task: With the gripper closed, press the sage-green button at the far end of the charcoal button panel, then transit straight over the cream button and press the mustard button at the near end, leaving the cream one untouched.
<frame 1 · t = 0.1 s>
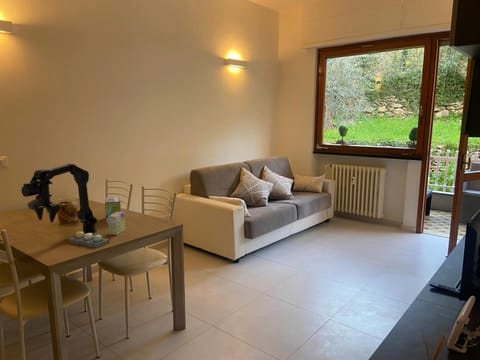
hand: (46, 221, 195), 15 cm above the table, fingers open, 9 cm apart
mustard button: (79, 234, 207), point 3 cm above the table, slide at 0.0 cm
box: (117, 232, 223), on the table
sage button: (97, 238, 201), point 3 cm above the table, slide at 0.0 cm
tea box: (113, 220, 251), on the table
cream button: (88, 236, 204), point 3 cm above the table, slide at 0.0 cm
button panel: (88, 242, 205), on the table
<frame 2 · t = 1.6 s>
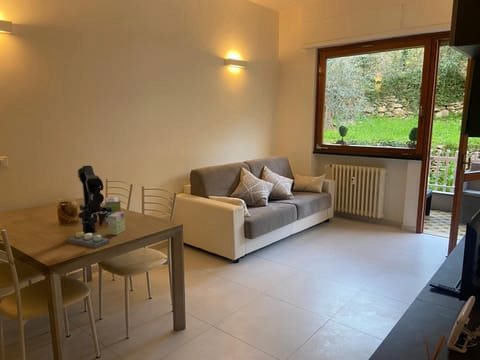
hand: (96, 227, 200), 10 cm above the table, fingers open, 5 cm apart
nothing on the table moved.
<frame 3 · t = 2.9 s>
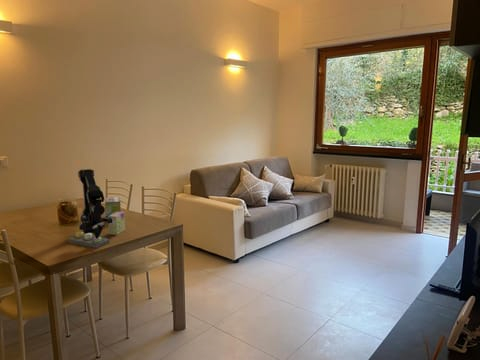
hand: (97, 238, 201), 3 cm above the table, fingers closed, pressing on sage button
sage button: (97, 240, 201), point 2 cm above the table, slide at 1.3 cm, touching gripper
everything else where it was.
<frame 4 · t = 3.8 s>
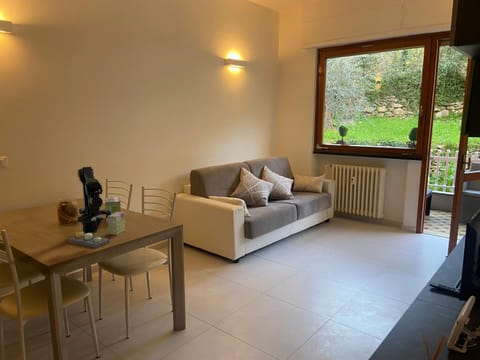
hand: (95, 230, 201), 8 cm above the table, fingers closed
sage button: (97, 240, 201), point 2 cm above the table, slide at 1.4 cm
everything else where it was.
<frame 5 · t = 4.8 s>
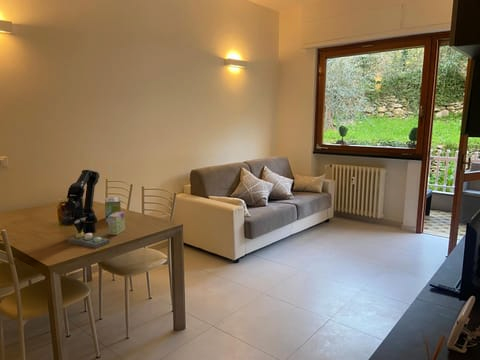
hand: (79, 232, 207), 4 cm above the table, fingers closed, pressing on mustard button
mustard button: (79, 235, 207), point 3 cm above the table, slide at 0.3 cm, touching gripper
everything else where it was.
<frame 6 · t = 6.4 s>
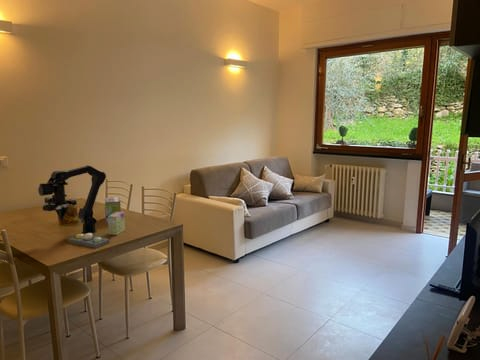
hand: (61, 219, 207), 12 cm above the table, fingers closed
mustard button: (79, 237, 207), point 2 cm above the table, slide at 1.4 cm
everything else where it was.
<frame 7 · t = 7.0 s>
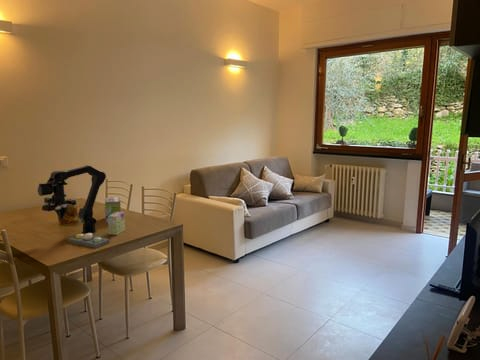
hand: (61, 219, 208), 12 cm above the table, fingers closed
nothing on the table moved.
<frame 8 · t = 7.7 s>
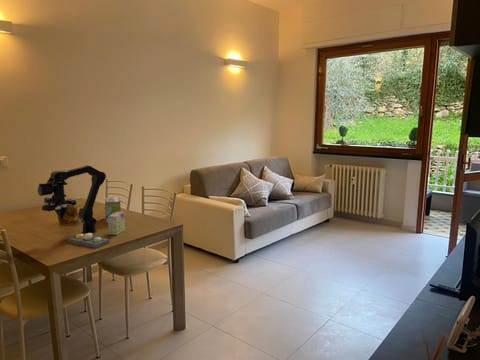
hand: (61, 219, 208), 12 cm above the table, fingers closed
nothing on the table moved.
at the end: sage button slide at 1.4 cm; mustard button slide at 1.4 cm; cream button slide at 0.0 cm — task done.
